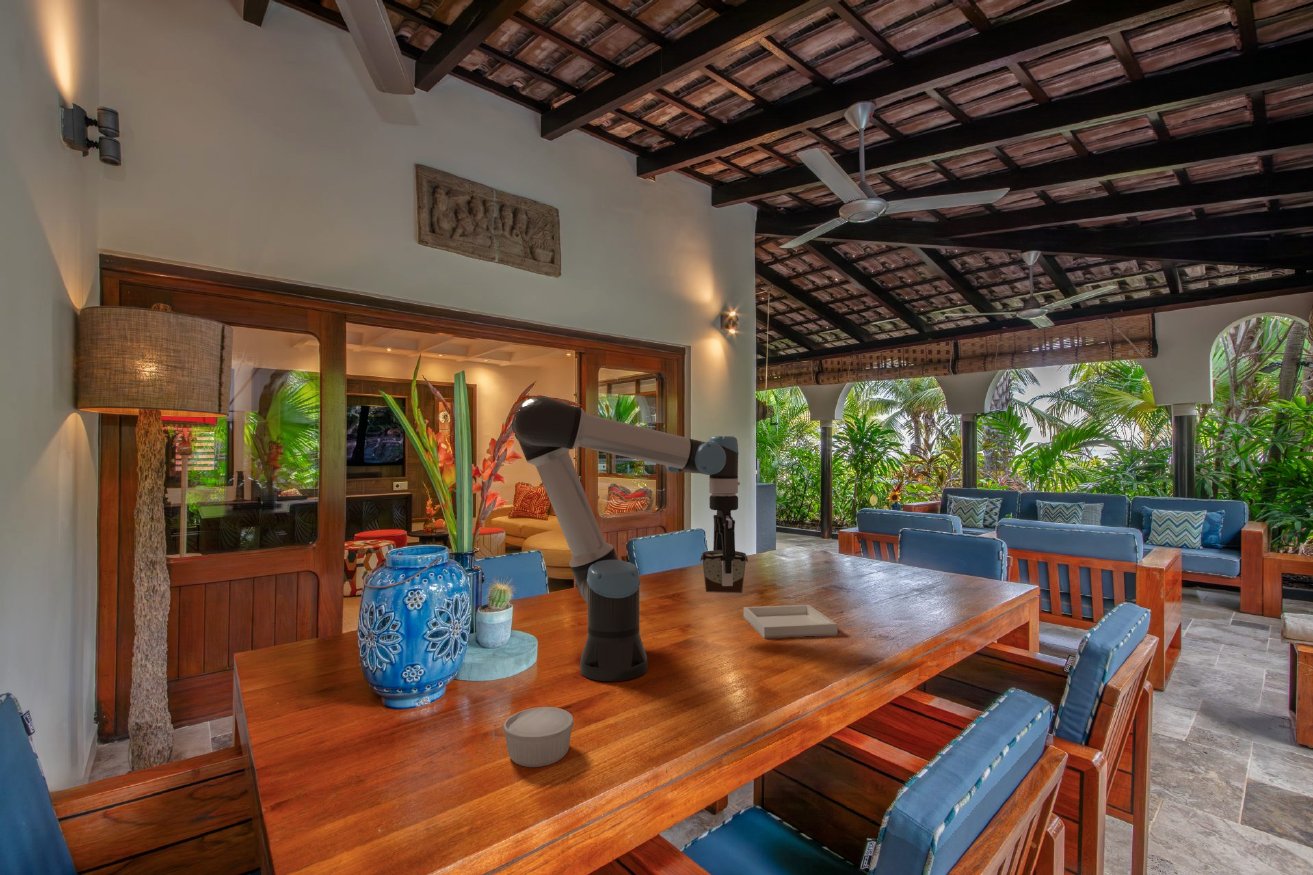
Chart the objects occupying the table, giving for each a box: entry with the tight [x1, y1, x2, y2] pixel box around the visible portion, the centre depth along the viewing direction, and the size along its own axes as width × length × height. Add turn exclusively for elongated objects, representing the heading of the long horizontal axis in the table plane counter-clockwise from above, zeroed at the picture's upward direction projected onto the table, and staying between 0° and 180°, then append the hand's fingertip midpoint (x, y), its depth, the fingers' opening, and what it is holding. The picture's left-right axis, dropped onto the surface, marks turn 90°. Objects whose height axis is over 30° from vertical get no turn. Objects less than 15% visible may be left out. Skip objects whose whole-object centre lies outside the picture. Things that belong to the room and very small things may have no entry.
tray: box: [743, 604, 839, 640], centre depth 164 cm, size 20×20×3 cm
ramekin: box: [503, 706, 574, 768], centre depth 95 cm, size 11×11×5 cm
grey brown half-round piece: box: [699, 550, 749, 594], centre depth 154 cm, size 12×6×10 cm, turn 84°
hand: (723, 582), depth 154 cm, fingers closed on grey brown half-round piece, 7 cm apart
